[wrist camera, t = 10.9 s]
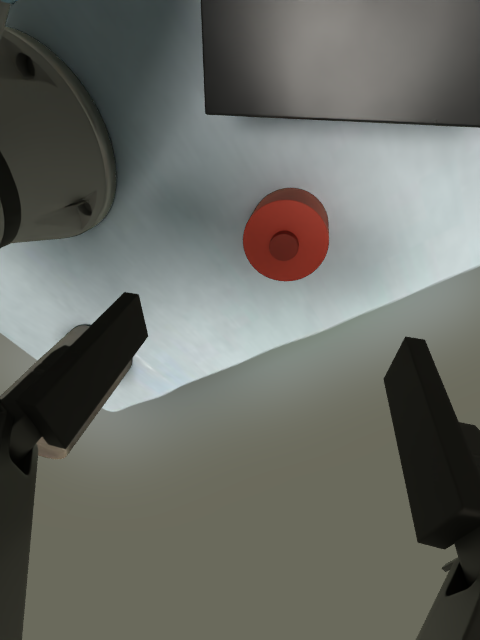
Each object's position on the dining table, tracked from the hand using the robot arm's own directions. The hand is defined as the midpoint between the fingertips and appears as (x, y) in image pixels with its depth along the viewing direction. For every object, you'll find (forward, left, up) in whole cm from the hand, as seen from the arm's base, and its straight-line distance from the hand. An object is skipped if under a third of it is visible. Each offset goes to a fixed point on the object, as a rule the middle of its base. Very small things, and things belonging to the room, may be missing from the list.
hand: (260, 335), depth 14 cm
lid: (0, 0, -14) cm, 14 cm away
